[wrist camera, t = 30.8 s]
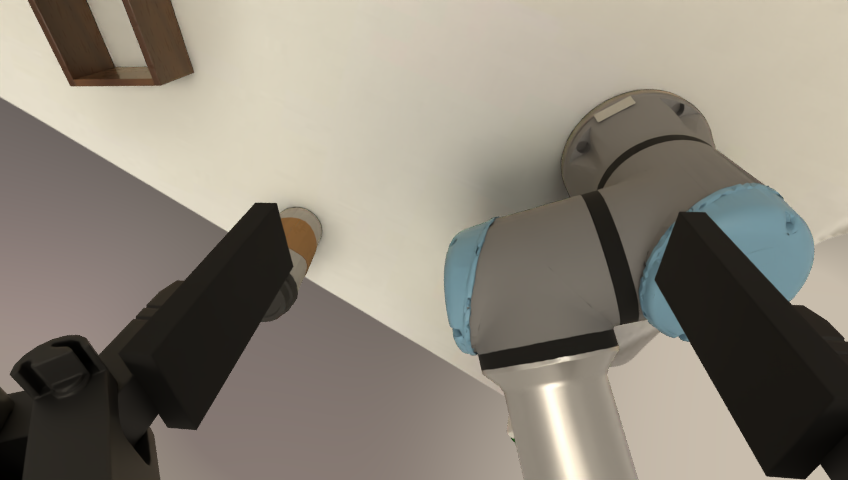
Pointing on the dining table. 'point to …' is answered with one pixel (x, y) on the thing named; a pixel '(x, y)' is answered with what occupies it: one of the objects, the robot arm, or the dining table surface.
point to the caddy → (87, 54)
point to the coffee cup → (295, 256)
